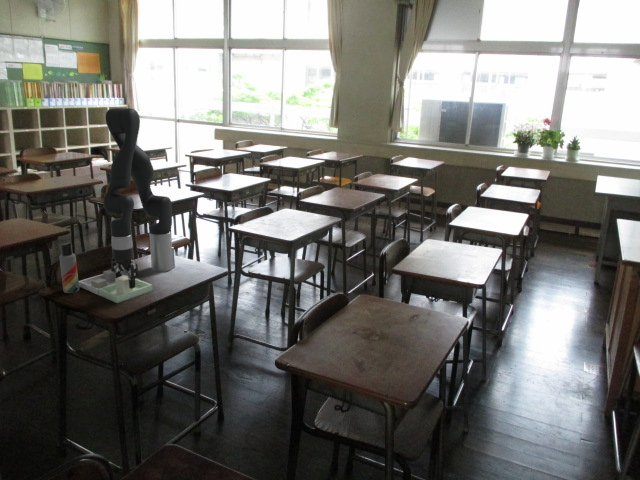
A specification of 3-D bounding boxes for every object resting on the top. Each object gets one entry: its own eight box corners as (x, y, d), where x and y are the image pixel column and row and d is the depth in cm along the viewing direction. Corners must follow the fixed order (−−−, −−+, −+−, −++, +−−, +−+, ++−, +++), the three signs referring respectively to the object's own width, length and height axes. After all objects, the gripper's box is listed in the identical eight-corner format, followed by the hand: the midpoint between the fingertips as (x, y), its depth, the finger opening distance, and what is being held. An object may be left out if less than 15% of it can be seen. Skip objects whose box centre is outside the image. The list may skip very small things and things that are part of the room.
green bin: (134, 284, 211) (134, 277, 210) (153, 291, 205) (152, 284, 204) (99, 296, 199) (98, 289, 198) (117, 304, 192) (116, 297, 191)
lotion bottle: (75, 294, 200) (69, 245, 194) (60, 293, 200) (54, 245, 194) (82, 288, 205) (76, 241, 199) (68, 288, 205) (62, 240, 199)
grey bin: (113, 276, 219) (113, 270, 218) (133, 284, 211) (133, 278, 211) (78, 287, 207) (77, 281, 206) (98, 296, 199) (97, 290, 198)
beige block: (125, 289, 203) (124, 275, 202) (133, 291, 201) (132, 277, 200) (116, 293, 200) (115, 278, 198) (124, 295, 198) (123, 281, 196)
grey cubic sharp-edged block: (112, 277, 216) (111, 268, 215) (118, 280, 214) (117, 271, 213) (104, 280, 213) (103, 271, 212) (110, 282, 211) (109, 273, 209)
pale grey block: (100, 287, 206) (100, 277, 205) (107, 289, 204) (106, 280, 203) (92, 290, 203) (91, 280, 202) (98, 292, 201) (97, 283, 200)
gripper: (142, 247, 195) (145, 287, 200) (120, 240, 203) (123, 278, 207) (125, 252, 189) (128, 292, 194) (102, 244, 197) (106, 283, 201)
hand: (125, 285), depth 200 cm, fingers open, 8 cm apart
